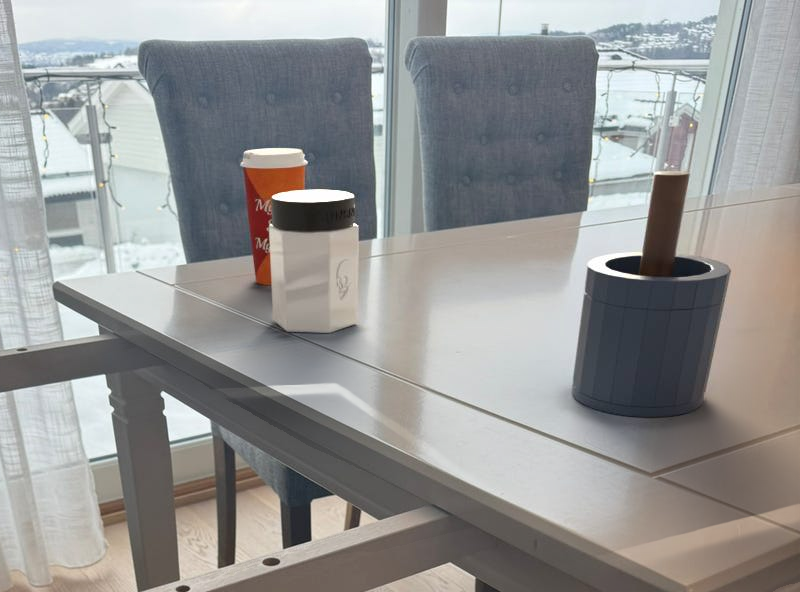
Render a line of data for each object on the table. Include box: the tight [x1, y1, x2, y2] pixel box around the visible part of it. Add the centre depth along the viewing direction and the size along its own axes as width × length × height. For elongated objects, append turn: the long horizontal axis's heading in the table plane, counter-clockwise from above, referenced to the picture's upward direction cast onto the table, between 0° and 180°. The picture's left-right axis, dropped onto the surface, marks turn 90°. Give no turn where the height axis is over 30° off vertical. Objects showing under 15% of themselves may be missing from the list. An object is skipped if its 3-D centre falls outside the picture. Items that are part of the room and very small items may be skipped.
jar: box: [269, 189, 360, 334], centre depth 93 cm, size 9×8×12 cm
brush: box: [639, 170, 691, 277], centre depth 71 cm, size 5×5×16 cm
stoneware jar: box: [571, 251, 732, 418], centre depth 73 cm, size 10×10×10 cm
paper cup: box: [239, 147, 309, 287], centre depth 109 cm, size 8×8×14 cm
